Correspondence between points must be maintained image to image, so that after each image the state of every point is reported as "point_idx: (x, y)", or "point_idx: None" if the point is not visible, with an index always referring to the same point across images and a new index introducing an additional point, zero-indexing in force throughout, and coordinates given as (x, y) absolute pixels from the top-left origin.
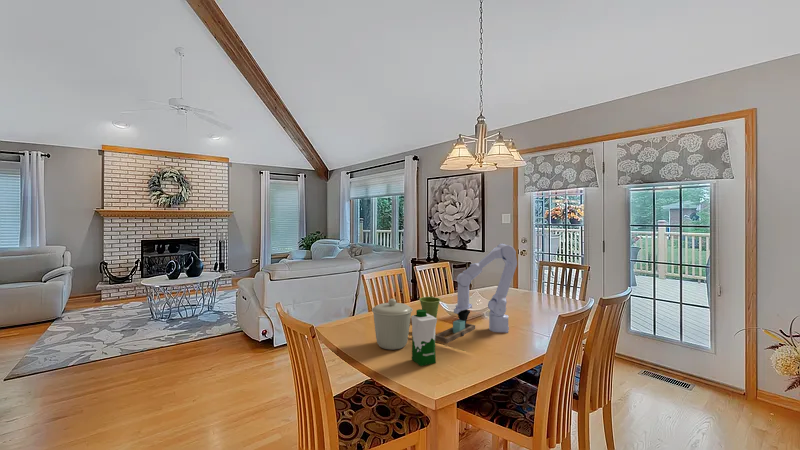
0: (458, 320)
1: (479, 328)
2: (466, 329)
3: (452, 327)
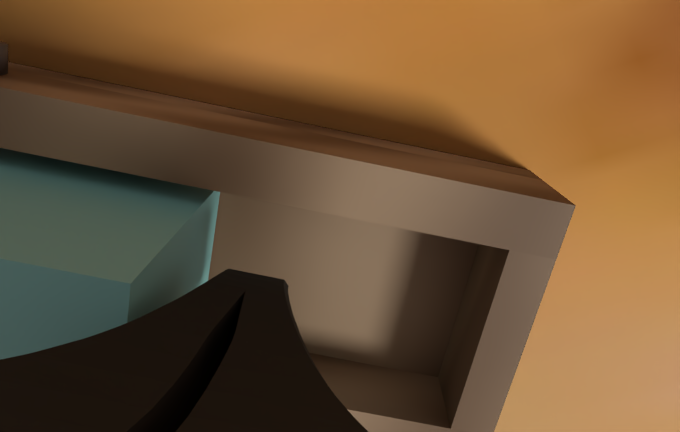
0: (18, 325)
1: (633, 417)
2: None
3: (49, 108)
